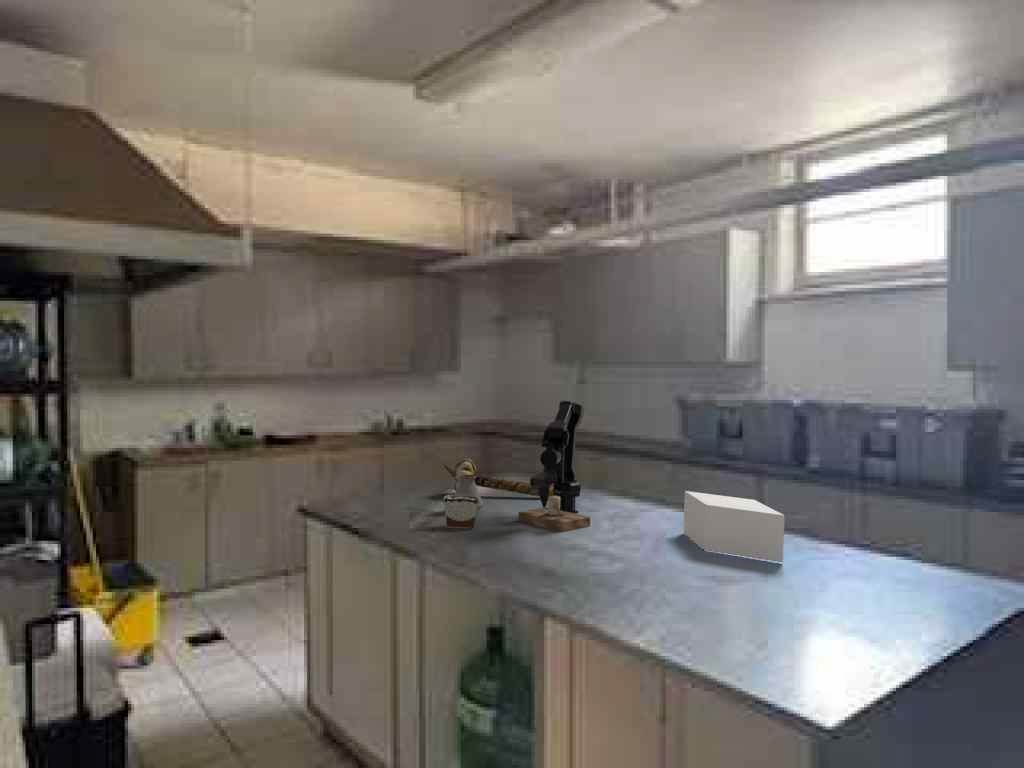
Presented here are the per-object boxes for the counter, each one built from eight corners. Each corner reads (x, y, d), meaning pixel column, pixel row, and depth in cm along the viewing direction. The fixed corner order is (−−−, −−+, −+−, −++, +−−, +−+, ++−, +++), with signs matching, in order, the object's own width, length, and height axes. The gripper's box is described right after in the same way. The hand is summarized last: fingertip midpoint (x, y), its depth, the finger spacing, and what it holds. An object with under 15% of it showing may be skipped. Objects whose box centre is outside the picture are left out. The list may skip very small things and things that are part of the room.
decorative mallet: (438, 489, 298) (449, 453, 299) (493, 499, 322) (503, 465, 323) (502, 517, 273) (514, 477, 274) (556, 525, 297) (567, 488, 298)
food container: (481, 524, 250) (482, 494, 250) (479, 529, 244) (479, 498, 244) (445, 523, 251) (445, 493, 251) (441, 527, 245) (442, 496, 245)
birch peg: (553, 521, 257) (554, 495, 257) (562, 523, 254) (563, 497, 254) (545, 523, 255) (545, 496, 254) (553, 525, 252) (554, 498, 251)
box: (706, 531, 250) (707, 488, 249) (806, 561, 215) (808, 512, 215) (659, 537, 240) (661, 493, 239) (757, 569, 205) (759, 518, 205)
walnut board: (546, 515, 267) (547, 507, 266) (589, 526, 252) (590, 517, 252) (518, 520, 257) (518, 512, 257) (561, 532, 242) (561, 522, 242)
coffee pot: (489, 512, 269) (490, 471, 268) (462, 516, 262) (463, 473, 261) (456, 502, 286) (456, 463, 285) (430, 505, 279) (430, 465, 278)
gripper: (519, 461, 255) (517, 507, 255) (559, 469, 241) (558, 517, 242) (542, 459, 263) (540, 503, 263) (582, 466, 249) (581, 513, 250)
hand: (554, 509), depth 254 cm, fingers open, 9 cm apart
